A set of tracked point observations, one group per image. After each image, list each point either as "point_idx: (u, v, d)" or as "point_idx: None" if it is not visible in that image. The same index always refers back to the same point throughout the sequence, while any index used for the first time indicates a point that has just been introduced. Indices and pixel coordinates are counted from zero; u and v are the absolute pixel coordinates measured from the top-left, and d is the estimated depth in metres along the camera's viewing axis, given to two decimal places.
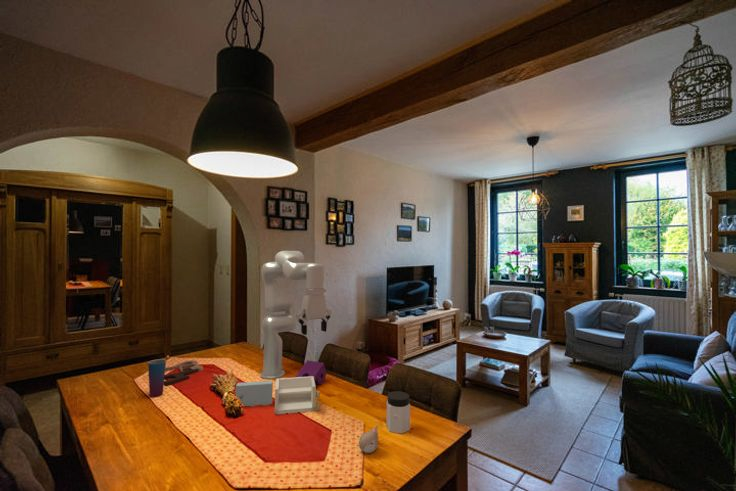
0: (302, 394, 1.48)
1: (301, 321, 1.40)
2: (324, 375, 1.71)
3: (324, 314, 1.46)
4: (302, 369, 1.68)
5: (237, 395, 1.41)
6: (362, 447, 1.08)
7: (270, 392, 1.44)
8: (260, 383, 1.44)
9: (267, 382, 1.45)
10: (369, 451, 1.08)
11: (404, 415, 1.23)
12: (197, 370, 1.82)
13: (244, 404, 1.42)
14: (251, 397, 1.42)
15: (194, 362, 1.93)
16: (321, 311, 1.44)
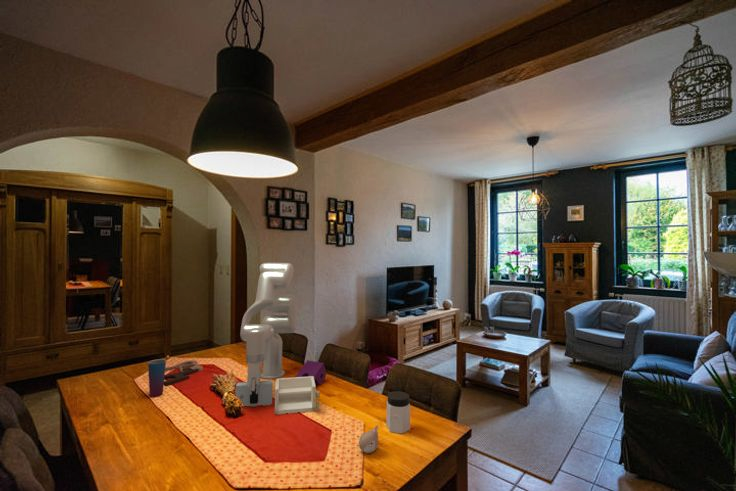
0: (302, 394, 1.48)
1: (255, 391, 1.40)
2: (324, 375, 1.71)
3: None
4: (302, 369, 1.68)
5: (237, 395, 1.41)
6: (362, 447, 1.08)
7: (270, 392, 1.44)
8: (260, 383, 1.44)
9: (267, 382, 1.45)
10: (369, 451, 1.08)
11: (404, 415, 1.23)
12: (197, 370, 1.82)
13: (244, 404, 1.41)
14: None
15: (194, 362, 1.93)
16: None
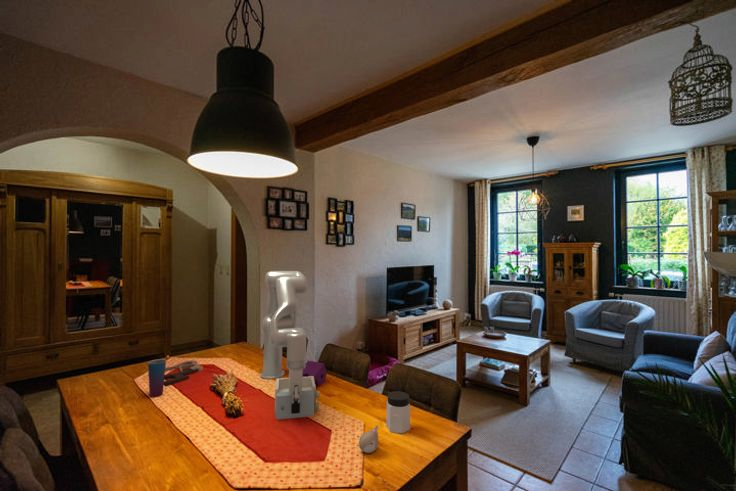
0: None
1: (298, 400, 1.30)
2: (324, 376, 1.70)
3: None
4: None
5: (278, 406, 1.31)
6: (362, 447, 1.08)
7: (312, 402, 1.34)
8: (301, 393, 1.35)
9: (308, 392, 1.36)
10: (369, 451, 1.08)
11: (404, 415, 1.23)
12: (197, 370, 1.82)
13: (285, 415, 1.32)
14: None
15: (194, 362, 1.93)
16: None
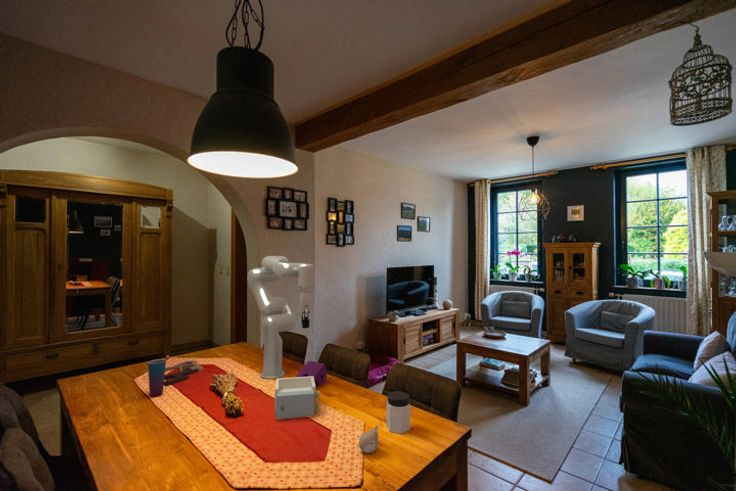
0: None
1: (308, 316, 1.54)
2: (325, 376, 1.70)
3: None
4: (302, 369, 1.68)
5: (278, 406, 1.31)
6: (362, 447, 1.08)
7: (312, 402, 1.34)
8: (301, 393, 1.35)
9: (308, 392, 1.36)
10: (369, 451, 1.08)
11: (404, 415, 1.23)
12: (197, 370, 1.82)
13: (285, 416, 1.32)
14: (292, 408, 1.33)
15: (194, 362, 1.93)
16: None
